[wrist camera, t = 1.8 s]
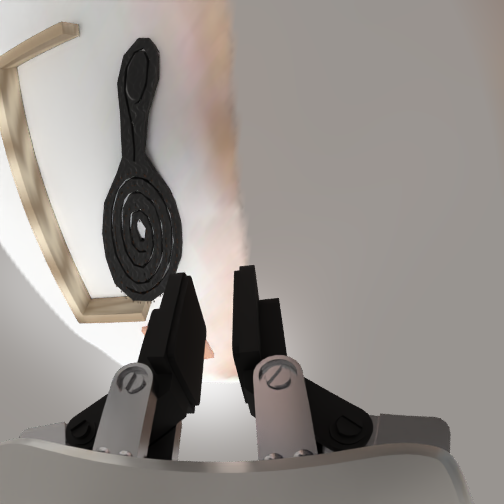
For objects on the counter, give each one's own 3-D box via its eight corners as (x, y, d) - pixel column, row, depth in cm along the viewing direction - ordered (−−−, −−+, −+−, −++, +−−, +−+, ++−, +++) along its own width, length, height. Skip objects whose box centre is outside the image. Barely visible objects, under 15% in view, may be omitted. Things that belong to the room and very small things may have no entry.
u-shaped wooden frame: (7, 61, 18) (-12, 64, 16) (78, 24, 18) (61, 21, 15) (87, 306, 34) (79, 323, 32) (151, 302, 34) (145, 321, 32)
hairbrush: (189, 32, 18) (177, 311, 30) (196, 39, 21) (183, 289, 33) (87, 39, 17) (101, 302, 29) (106, 44, 20) (112, 282, 33)
